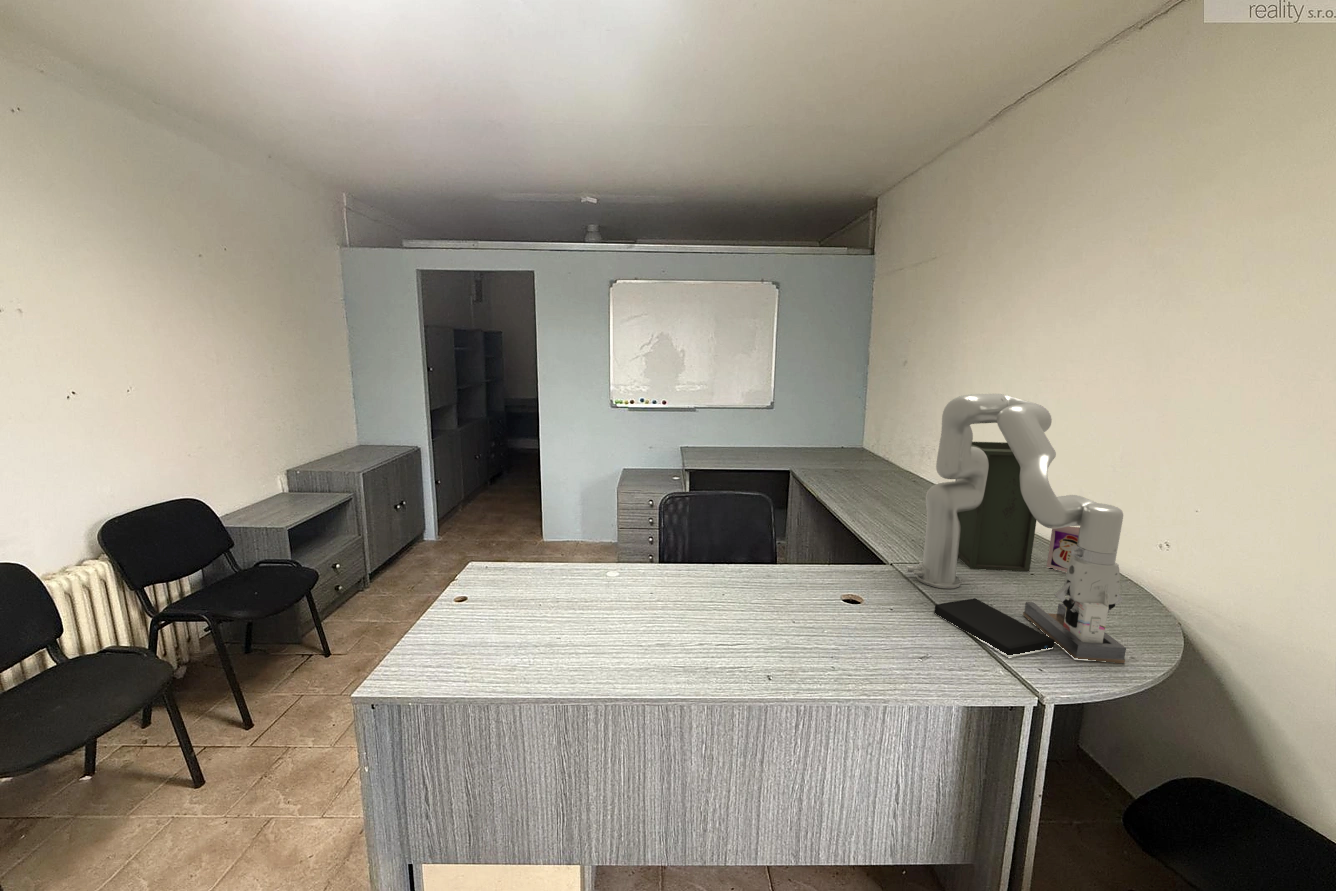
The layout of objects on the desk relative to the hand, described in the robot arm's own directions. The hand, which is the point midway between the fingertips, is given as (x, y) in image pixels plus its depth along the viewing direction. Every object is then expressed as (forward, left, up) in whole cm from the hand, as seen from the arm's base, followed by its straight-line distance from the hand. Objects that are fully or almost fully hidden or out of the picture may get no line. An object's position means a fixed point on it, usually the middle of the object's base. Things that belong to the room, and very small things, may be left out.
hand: (1083, 624), depth 133 cm
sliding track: (0, +4, -6) cm, 7 cm away
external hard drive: (-18, +6, -6) cm, 20 cm away
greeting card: (+27, +49, -6) cm, 57 cm away
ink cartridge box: (0, 0, -5) cm, 5 cm away
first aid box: (+4, +56, -6) cm, 57 cm away
